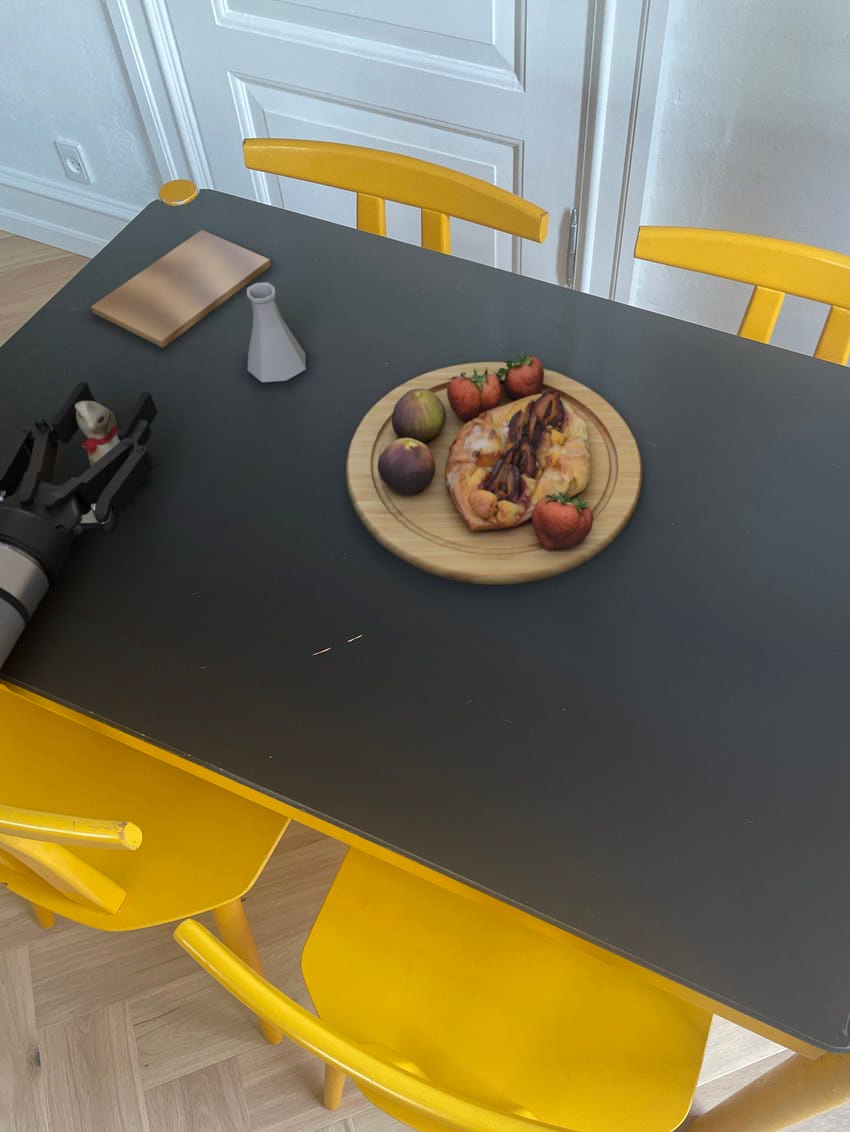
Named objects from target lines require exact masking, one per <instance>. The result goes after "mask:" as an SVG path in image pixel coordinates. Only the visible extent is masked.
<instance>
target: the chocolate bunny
mask: <svg viewBox="0 0 850 1132" xmlns="http://www.w3.org/2000/svg"><path fill="white" fill-rule="evenodd" d="M75 408H76V410H77V411H76V419H77V423H78V426H79V428H78V429H79V430H80V431H81V432H82V433H83V435H85V437H86V439H85V441H83V442H81V448H83V450H84V451H85V450H86V451H87V456H88V463H89V465H90V467H91V466H92V465H93V464H94V463H96V462H97V461H98V460H99V459H100V458H101V457H103V456H104V455H105V454H106V453H107V452H108V451H110V450H111V449H112V448H113V447H114V446H115V445H117V444H118V443H119V442H120V441H119V439H118V437H117V433H118V431H119V430H120V428H119V426H118V424H117V421H116V417H115V414H114V413H113V411H111V410H110V409H109V408H107V407H106V406H104V405H102V404H100V403H99V402H96V401H95V402H94V401H81V402H79V403H76V405H75Z"/></svg>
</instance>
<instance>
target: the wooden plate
mask: <svg viewBox="0 0 850 1132" xmlns="http://www.w3.org/2000/svg"><path fill="white" fill-rule="evenodd" d="M518 357H520V358H519V359H515V360H513V361H512V360H511V359H510V360H503V361H482V362H469V363H462V364H457V365H451V366H448V367H447V366H445V367H442V368H438V369H435V370H432V371H429V372H426V373H424V374H421V375H418V376H416V377H414V378H411V379H409V380H407V381H406V382H404V383H402V384H400V385H399V386H397V387H395V388H393V389H391V391H389V392H388V393H387V394H386V395H383V397H382V398H380V400H378V401H377V402H376V403H375V404H374V405H373V406H372V407H371V408H370V409H369V411H367V413H365V415H364V416H363V417H362V419H361V420H360V422H359V424H358V425H357V428H356V429H355V431H354V433H353V435H352V438H351V441H350V443H349V447H348V451H347V455H346V459H345V460H346V461H345V479H346V480H345V482H346V489H347V492H348V496H349V499H350V502H351V504H352V506H353V509H354V511H355V513H356V515H357V517H358V518H359V520H360V522H361V523H362V525H363V526H364V528H365V529H366V530H367V531H368V533H369V534H370V535H371V537H373V538H374V540H375V541H376V542H377V543H378V544H380V546H381V547H383V548H384V549H386V551H388V552H390V553H391V554H393V555H394V556H395V557H397V558H399V559H401V560H402V561H404V562H405V563H407V564H409V565H411V566H413V567H415V568H416V569H419V570H421V571H423V572H425V573H428V574H431V575H434V576H436V577H440V578H443V579H448V580H451V581H457V582H460V583H466V584H467V583H468V584H475V585H487V586H489V585H490V586H499V585H501V586H503V585H518V584H524V583H532V582H536V581H541V580H544V579H550V578H553V577H555V576H557V575H561V574H564V573H566V572H568V571H571V570H573V569H575V568H578V567H579V566H581V565H583V564H585V563H586V562H588V561H590V560H592V559H593V558H594V557H596V556H597V555H599V554H600V553H602V551H605V550H606V549H607V548H608V547H609V546H610V545H611V544H612V543H613V542H614V541H615V540H616V539H617V538H618V537H619V536H620V535H621V533H622V532H623V531H624V529H625V528H626V526H627V525H628V523H629V522H630V521H631V519H632V517H633V515H634V513H635V511H636V508H637V507H638V503H639V501H640V496H641V491H642V486H643V473H644V472H643V471H644V470H643V461H642V456H641V452H640V449H639V446H638V443H637V440H636V438H635V436H634V434H633V432H632V430H631V428H630V427H629V425H628V424H627V423H626V421H625V420H624V419H623V417H622V416H621V415H620V413H619V412H618V411H617V410H616V409H615V408H614V406H613V405H611V404H610V403H609V402H608V401H607V400H606V399H605V398H603V397H602V396H601V395H599V394H598V393H597V392H595V391H594V390H592V389H591V388H589V387H588V386H586V385H584V384H582V383H581V382H578V381H577V380H574V379H572V378H570V377H568V376H566V375H563V374H561V373H559V372H557V371H553V370H550V369H546V368H544V366H543V363H542V361H541V360H540V359H538V358H537V357H535V356H531V353H529V354H527V353H526V354H524V351H520V353H519V355H518Z"/></svg>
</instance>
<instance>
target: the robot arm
mask: <svg viewBox="0 0 850 1132" xmlns="http://www.w3.org/2000/svg"><path fill="white" fill-rule="evenodd" d="M81 401H94V402H96V400H95V398H94V395H93V393H92V391H91V389H90V387H89V385H88V381H87V382H86V381H79V382H78V384H77V385H76V386H75V388H74V389H73V391H72V392H71V393H70V395H69V396H68V398H67V400H66V401H65V403H64V404H63V406H58V407H56V408H55V409H54V410H53V412H52V413H51V415H50V416H49V418H47V420H46V419H45V418H38V419H36V420H35V421H34V423H33V424H34V425H35V427H36V428H31V427H30V426H29V425H23V426H20V427H19V428H18V429H17V431H16V433H15V434H14V436H13V437H12V440H11V441H10V443H9V445H8V446H7V448H6V450H5V451H4V453H3V455H2V457H1V458H0V670H1V669H2V667H3V665H4V663H5V662H6V660H7V658H8V657H9V655H10V653H11V651H12V650H13V648H14V646H15V645H16V643H17V642H18V640H19V638H20V636H21V634H22V633H23V631H24V629H25V628H26V625H27V624H28V622H29V621H30V620H31V618H32V616H33V615H34V612H35V611H36V609H37V608H38V606H39V604H40V603H41V601H42V600H43V598H44V596H45V595H46V593H47V591H48V589H49V587H50V583H52V582H53V581H54V580H55V578H56V577H57V575H58V574H59V572H60V570H61V569H62V567H63V565H64V564H65V562H66V561H67V559H68V557H69V555H70V552H71V547H72V544H73V541H74V540H75V539H76V538H78V536H80V535H82V534H83V533H84V532H85V530H95V529H99V530H101V531H102V533H103V534H104V535H107V536H108V535H111V534H113V533H114V532H115V531H116V527H117V525H118V520H119V516H120V515H121V514H122V512H123V510H125V508H126V506H127V505H128V504H129V502H130V501H131V500H132V498H133V497H134V495H135V494H136V492H138V489H139V488H140V487H141V485H143V483H144V482H145V480H146V478H147V477H148V476H149V474H150V473H151V471H152V470H153V469H154V463H153V461H152V458H151V456H150V452H149V450H148V449H147V447H146V446H145V445H146V444H147V442H148V440H149V439H150V437H151V436H152V429H151V427H150V426H151V424H152V423H153V421H154V419H155V418H156V416H157V415H158V409H157V406H156V404H155V402H154V399H153V397H152V394H151V392H147V391H143V392H142V393H141V395H140V396H139V398H138V400H137V401H136V402H135V405H134V406H133V407H132V409H131V411H130V412H129V414H128V415H127V417H126V419H125V421H124V422H123V423H122V425H121V427H120V428H119V431H118V433H117V437H118V439H119V441H120V442H119V443H118V444H117V445H115V446H114V447H113V448H112V449H111V450H110V451H108V452H107V453H106V454H105V455H104V456H103V457H101V458H100V459H99V460H98V461H97V462H96V463H94V464H93V465H92V466H91V465H90V466H89V468H87V469H86V470H85V471H84V472H83V473H81V474H80V475H79V476H78V477H75V476H73V477H71V478H70V479H68V480H66V482H65V483H63V484H52V480H53V474H54V469H55V466H56V460H57V455H58V450H59V445H60V443H61V444H65V445H69V443H70V442H71V440H72V439H73V437H74V436H75V434H76V433H77V432H78V430H79V429H80V428H79V426H78V423H77V419H76V411H77V410H76V408H75V405H76V403H79V402H81ZM58 441H59V442H60V443H59V442H58ZM20 483H21V487H20V489H18V487H19V485H20ZM17 489H18V491H17ZM16 491H17V492H16ZM96 500H97V501H96Z"/></svg>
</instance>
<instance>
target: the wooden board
mask: <svg viewBox="0 0 850 1132" xmlns="http://www.w3.org/2000/svg"><path fill="white" fill-rule="evenodd" d="M270 267H272V263H271V259H270V258H267V257H266V256H263V255H260V254H258V253H256V252H254V251H252V250H249V249H247V248H245V247H243V246H241V245H238V244H237V243H233V242H231V241H229V240H227V239H225V238H222V237H220V236H217V235H215V234H214V233H211V232H208V231H207V230H205V229H201V230H199V231H198V232H196V233H195V234H193V235H192V236H191V237H189V238H188V239H186V240H185V241H183V242H181V244H179V245H177V246H176V247H175V248H173V249H172V250H170V251H169V252H168V253H166V254H165V255H163V256H162V257H161V258H159V259H157V260H156V261H154V262H153V263H152V264H150V265H149V266H148V267H146V268H145V269H143V270H141V271H140V272H139V273H137V274H136V275H134V276H133V277H131V278H130V279H129V280H127V281H126V282H124V283H123V284H121V285H119V287H117V288H115V289H114V290H113V291H111V292H109V293H108V294H107V295H106V296H104V297H103V298H101V299H99V300H98V301H97V302H96V303H94V304H93V305H91V306H90V308H91V311H92V312H93V314H94V315H97V316H99V317H100V318H102V319H104V320H107V321H108V322H110V323H112V324H114V325H116V326H119V327H120V328H122V329H124V330H126V331H128V332H130V333H132V334H135V335H136V336H139V337H140V338H142V339H144V340H146V341H149V342H150V343H152V344H154V345H156V346H158V347H160V348H165V347H167V346H168V345H170V344H171V343H172V342H173V341H175V340H176V339H177V338H178V337H180V336H181V335H182V334H184V333H185V332H187V331H188V330H189V329H190V328H191V327H193V326H194V325H196V324H197V323H199V321H201V320H202V319H204V318H205V317H206V316H208V315H209V314H210V313H211V312H212V311H214V310H215V309H217V308H218V307H219V306H221V305H222V304H223V303H225V302H226V301H227V300H228V299H230V298H231V297H232V296H234V295H235V294H236V293H238V292H239V291H241V290H242V289H243V288H245V286H247V285H248V284H249V283H251V282H252V281H254V280H255V279H256V278H258V277H259V276H260V275H261V274H263V273H264V272H266V270H268V269H269V268H270Z"/></svg>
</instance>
